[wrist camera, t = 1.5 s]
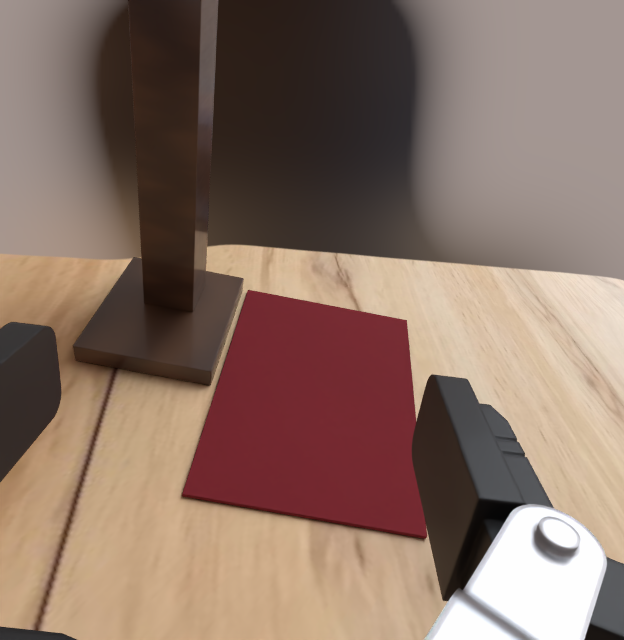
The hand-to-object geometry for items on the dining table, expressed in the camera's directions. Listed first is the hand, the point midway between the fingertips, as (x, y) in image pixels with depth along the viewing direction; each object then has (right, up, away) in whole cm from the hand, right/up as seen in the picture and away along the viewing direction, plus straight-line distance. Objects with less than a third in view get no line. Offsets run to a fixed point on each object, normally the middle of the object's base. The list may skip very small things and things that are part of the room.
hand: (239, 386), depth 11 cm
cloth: (+2, -4, +28) cm, 28 cm away
